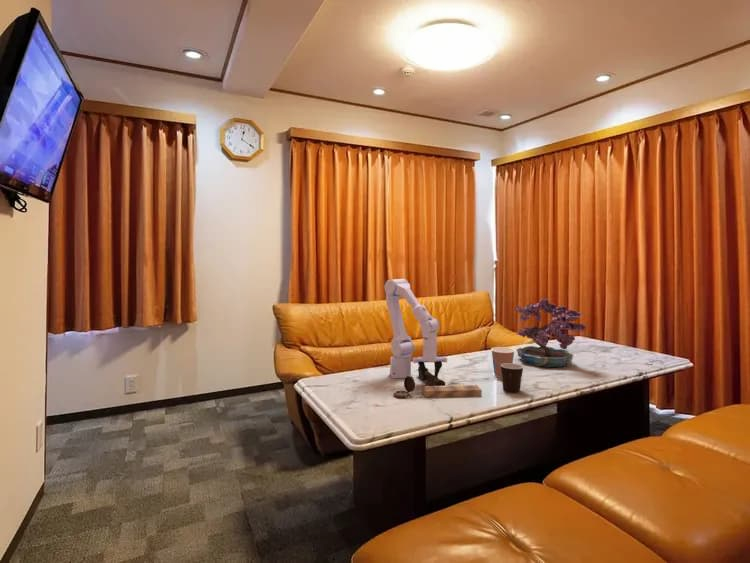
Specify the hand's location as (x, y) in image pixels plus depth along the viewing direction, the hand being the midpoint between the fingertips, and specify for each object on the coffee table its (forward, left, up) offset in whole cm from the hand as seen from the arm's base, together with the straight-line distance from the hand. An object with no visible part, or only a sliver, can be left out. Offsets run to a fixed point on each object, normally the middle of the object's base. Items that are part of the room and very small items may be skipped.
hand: (429, 379), depth 175 cm
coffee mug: (+30, -12, -2) cm, 32 cm away
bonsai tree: (+65, +27, -2) cm, 70 cm away
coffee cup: (+35, +9, -2) cm, 36 cm away
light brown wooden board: (+6, -14, -2) cm, 15 cm away
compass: (-13, -15, -2) cm, 20 cm away
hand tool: (-1, 0, -2) cm, 2 cm away
